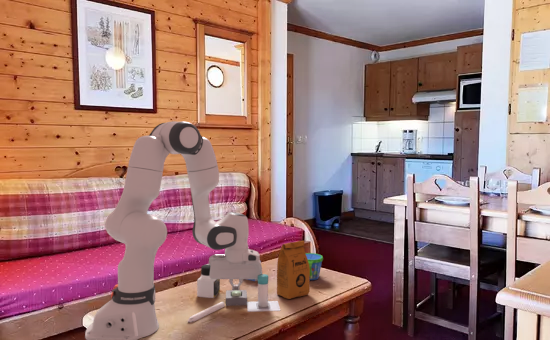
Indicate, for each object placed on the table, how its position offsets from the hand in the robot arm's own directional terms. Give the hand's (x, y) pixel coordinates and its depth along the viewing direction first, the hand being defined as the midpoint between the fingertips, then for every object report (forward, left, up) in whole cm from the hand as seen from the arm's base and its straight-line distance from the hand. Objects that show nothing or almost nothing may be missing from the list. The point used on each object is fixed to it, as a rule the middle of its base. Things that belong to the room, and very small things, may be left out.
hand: (235, 289), depth 161 cm
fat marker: (+10, -5, -4) cm, 12 cm away
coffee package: (+23, +5, -5) cm, 24 cm away
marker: (-11, -11, -5) cm, 16 cm away
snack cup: (+34, +25, -5) cm, 43 cm away
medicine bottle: (-11, +8, -5) cm, 15 cm away
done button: (0, 0, -4) cm, 4 cm away
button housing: (0, 0, -5) cm, 5 cm away
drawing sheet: (+10, -5, -5) cm, 12 cm away
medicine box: (+7, +27, -5) cm, 28 cm away
